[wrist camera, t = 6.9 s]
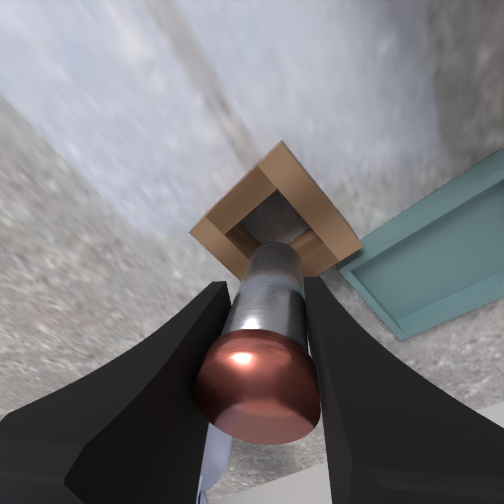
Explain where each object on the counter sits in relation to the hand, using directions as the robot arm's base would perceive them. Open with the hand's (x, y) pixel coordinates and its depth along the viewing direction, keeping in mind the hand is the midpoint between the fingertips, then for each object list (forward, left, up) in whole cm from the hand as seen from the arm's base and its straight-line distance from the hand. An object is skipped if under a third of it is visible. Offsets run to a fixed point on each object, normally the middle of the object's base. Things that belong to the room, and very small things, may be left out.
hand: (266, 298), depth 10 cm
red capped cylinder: (-1, 0, -3) cm, 4 cm away
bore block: (0, 0, -10) cm, 10 cm away
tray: (-10, -8, -10) cm, 16 cm away
